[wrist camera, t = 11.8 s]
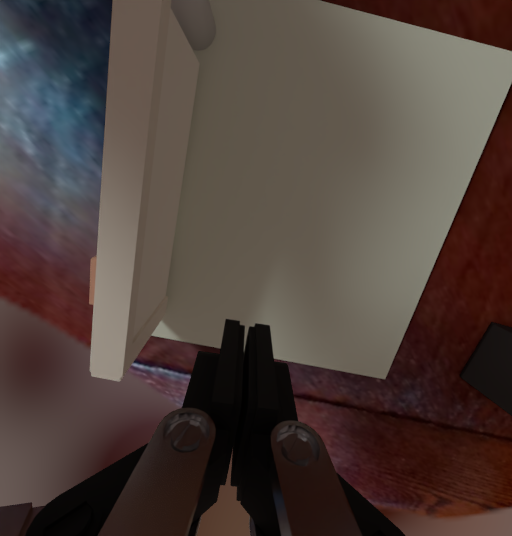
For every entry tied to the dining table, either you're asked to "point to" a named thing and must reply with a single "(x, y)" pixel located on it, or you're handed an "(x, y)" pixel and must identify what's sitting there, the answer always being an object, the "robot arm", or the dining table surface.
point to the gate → (140, 178)
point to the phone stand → (492, 366)
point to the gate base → (321, 174)
